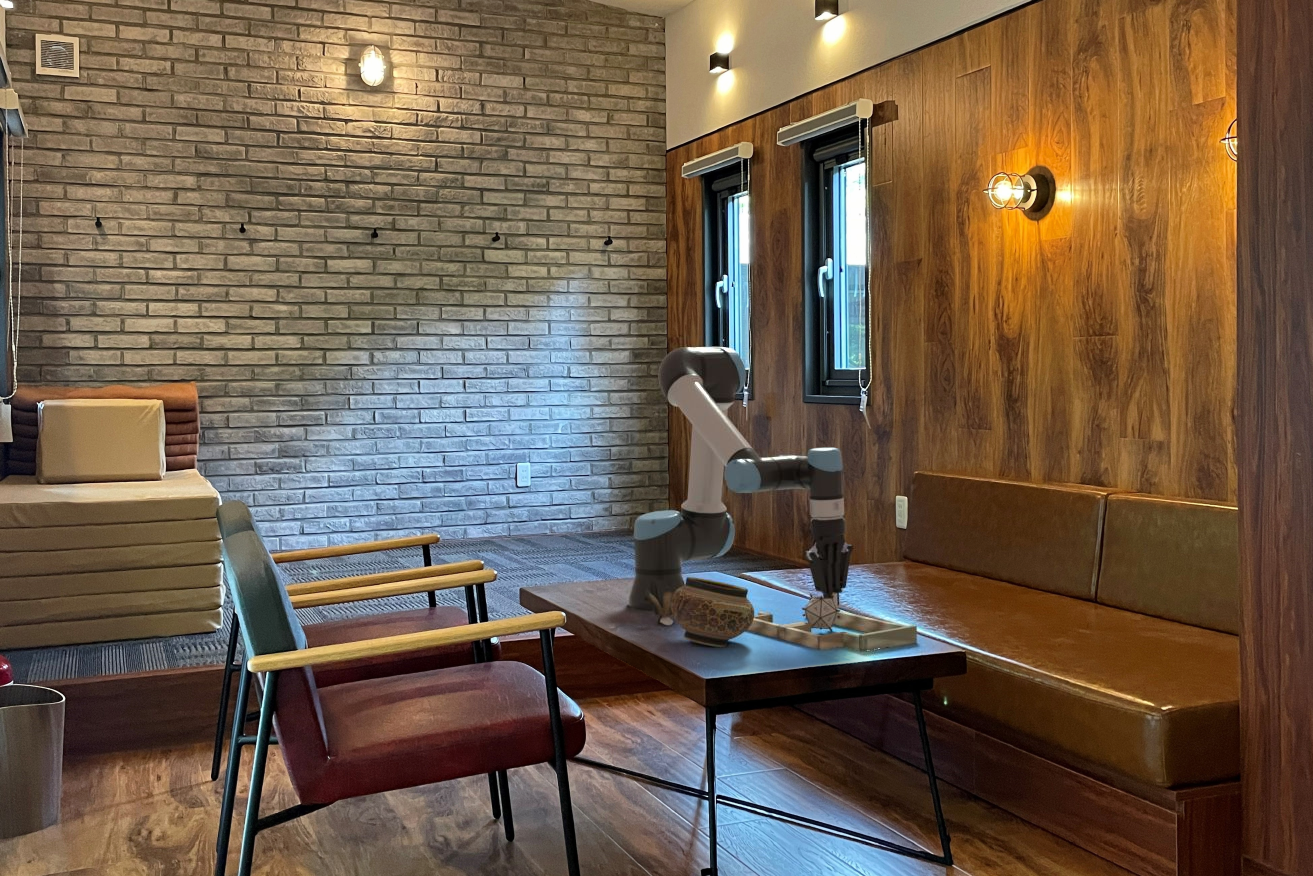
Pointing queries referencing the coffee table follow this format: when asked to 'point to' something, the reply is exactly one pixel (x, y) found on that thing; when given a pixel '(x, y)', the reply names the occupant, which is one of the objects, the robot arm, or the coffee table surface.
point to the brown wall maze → (877, 636)
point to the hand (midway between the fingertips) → (832, 621)
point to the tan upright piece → (666, 607)
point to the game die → (821, 612)
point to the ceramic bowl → (711, 611)
